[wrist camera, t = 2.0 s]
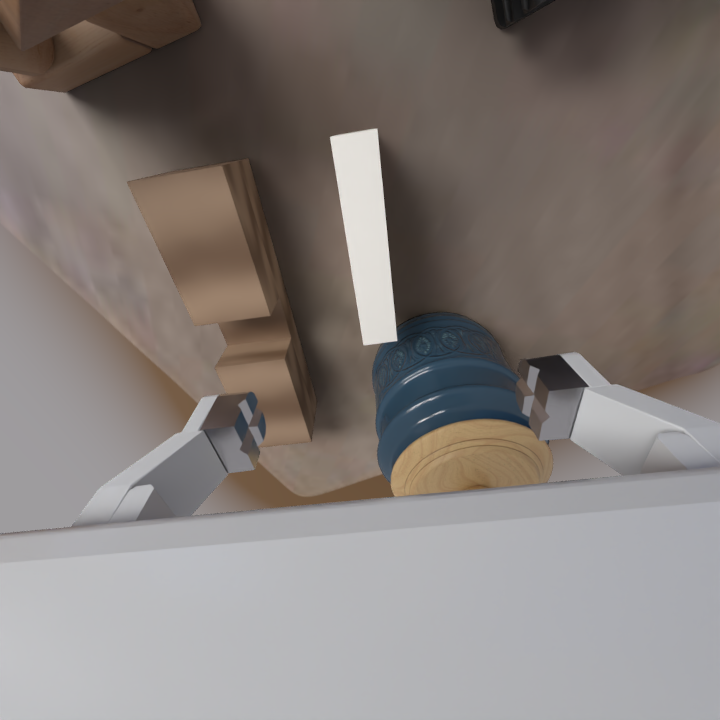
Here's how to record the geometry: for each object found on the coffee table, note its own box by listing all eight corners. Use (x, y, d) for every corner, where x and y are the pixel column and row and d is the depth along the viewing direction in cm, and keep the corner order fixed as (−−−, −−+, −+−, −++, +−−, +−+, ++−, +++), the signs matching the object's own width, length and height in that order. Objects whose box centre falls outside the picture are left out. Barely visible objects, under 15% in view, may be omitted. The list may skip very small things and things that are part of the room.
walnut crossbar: (171, 171, 26) (126, 181, 21) (248, 158, 25) (221, 165, 20) (265, 407, 39) (252, 448, 34) (317, 401, 38) (311, 442, 34)
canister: (363, 317, 33) (370, 470, 18) (501, 299, 32) (625, 445, 17) (378, 415, 40) (391, 581, 25) (490, 403, 39) (571, 567, 24)
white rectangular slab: (337, 134, 24) (329, 136, 18) (371, 128, 24) (377, 128, 18) (362, 300, 32) (363, 345, 25) (388, 296, 32) (397, 341, 25)
